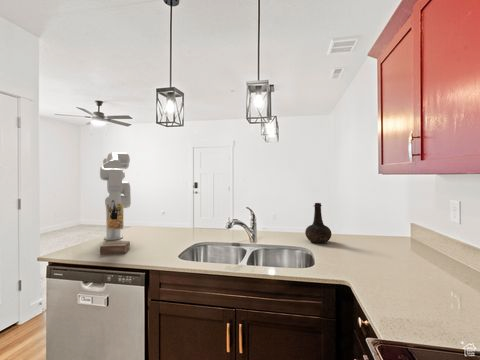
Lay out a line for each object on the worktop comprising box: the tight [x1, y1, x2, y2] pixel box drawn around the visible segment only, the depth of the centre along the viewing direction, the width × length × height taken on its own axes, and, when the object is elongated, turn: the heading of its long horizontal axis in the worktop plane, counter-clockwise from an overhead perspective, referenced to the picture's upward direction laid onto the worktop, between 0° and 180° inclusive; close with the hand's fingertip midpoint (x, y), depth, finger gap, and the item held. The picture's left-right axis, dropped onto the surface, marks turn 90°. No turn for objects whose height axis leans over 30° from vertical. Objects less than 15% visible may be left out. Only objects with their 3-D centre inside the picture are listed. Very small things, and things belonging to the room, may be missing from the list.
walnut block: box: [99, 240, 131, 256], centre depth 171 cm, size 12×14×5 cm
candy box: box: [107, 204, 124, 230], centre depth 171 cm, size 9×4×15 cm, turn 107°
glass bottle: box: [305, 202, 332, 244], centre depth 200 cm, size 18×18×28 cm
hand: (115, 218), depth 171 cm, fingers closed on candy box, 4 cm apart
